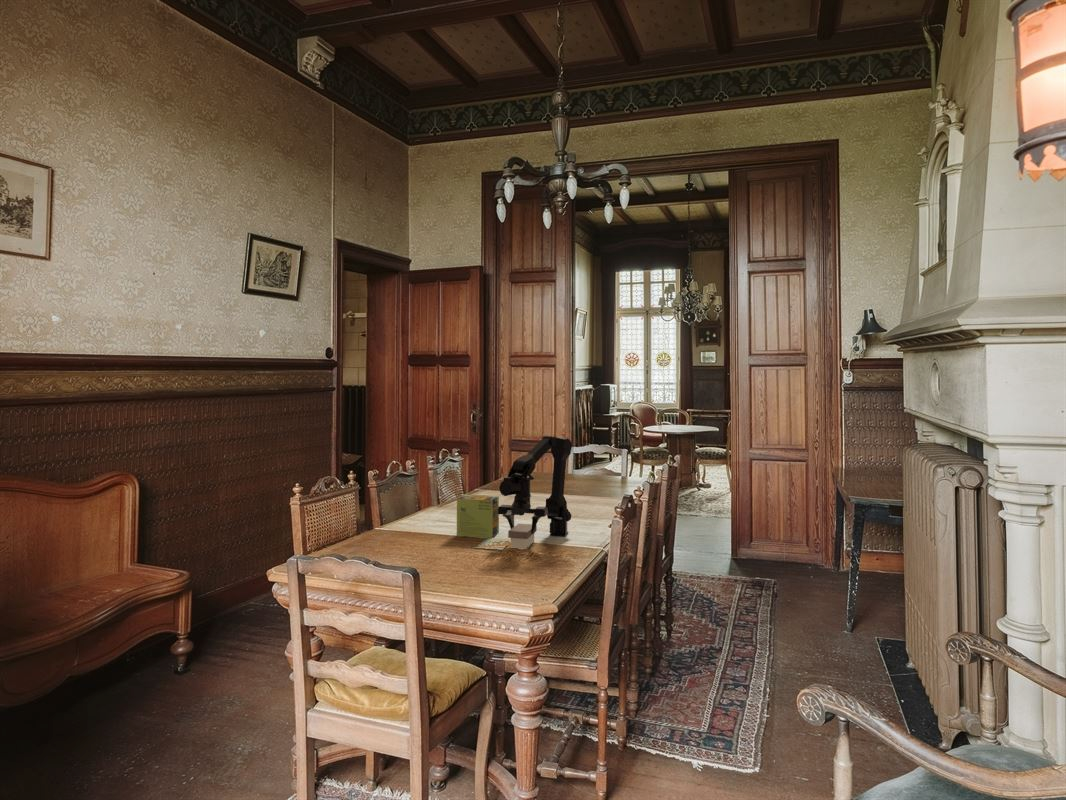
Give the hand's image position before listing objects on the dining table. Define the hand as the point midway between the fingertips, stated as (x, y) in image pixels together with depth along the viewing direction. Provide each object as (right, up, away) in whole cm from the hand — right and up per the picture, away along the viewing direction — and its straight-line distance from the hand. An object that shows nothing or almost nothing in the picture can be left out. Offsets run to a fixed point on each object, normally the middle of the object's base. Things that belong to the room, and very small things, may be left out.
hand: (522, 532), depth 256 cm
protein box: (-18, -4, +18) cm, 26 cm away
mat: (-11, -5, +1) cm, 12 cm away
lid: (0, -1, 0) cm, 0 cm away
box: (0, -5, 0) cm, 5 cm away
